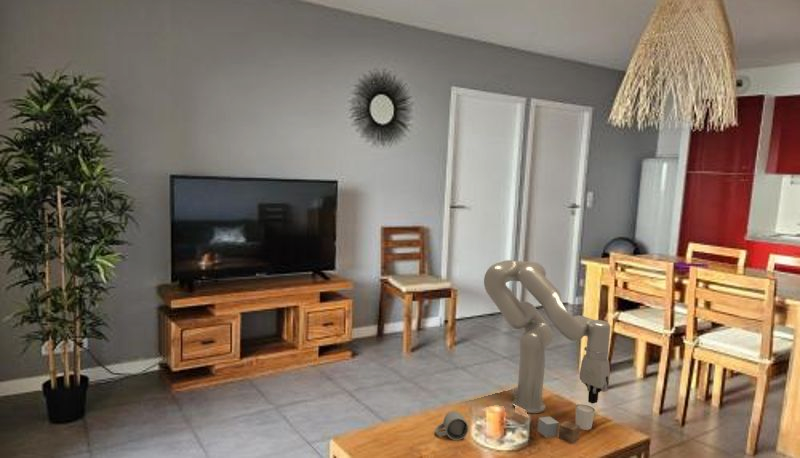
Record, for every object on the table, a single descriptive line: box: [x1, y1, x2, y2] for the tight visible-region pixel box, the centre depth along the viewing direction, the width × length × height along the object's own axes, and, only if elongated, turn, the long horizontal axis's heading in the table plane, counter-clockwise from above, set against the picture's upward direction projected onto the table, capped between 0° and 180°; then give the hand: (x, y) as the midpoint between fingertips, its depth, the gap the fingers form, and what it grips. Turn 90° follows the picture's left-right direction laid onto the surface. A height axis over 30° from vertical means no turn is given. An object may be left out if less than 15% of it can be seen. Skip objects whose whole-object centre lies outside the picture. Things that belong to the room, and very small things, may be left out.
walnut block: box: [558, 420, 581, 445], centre depth 189 cm, size 5×5×5 cm
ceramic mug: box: [434, 410, 469, 441], centre depth 187 cm, size 11×8×8 cm
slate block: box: [536, 415, 560, 439], centre depth 192 cm, size 5×5×5 cm
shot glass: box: [574, 404, 596, 431], centre depth 199 cm, size 7×7×7 cm
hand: (592, 402), depth 200 cm, fingers closed
